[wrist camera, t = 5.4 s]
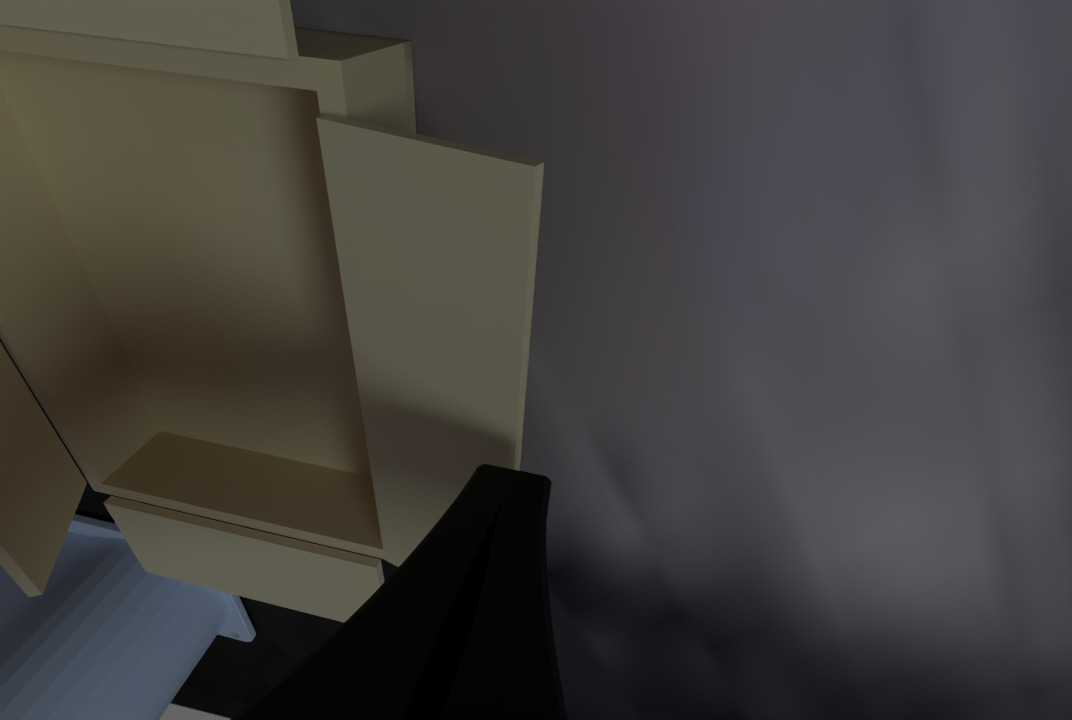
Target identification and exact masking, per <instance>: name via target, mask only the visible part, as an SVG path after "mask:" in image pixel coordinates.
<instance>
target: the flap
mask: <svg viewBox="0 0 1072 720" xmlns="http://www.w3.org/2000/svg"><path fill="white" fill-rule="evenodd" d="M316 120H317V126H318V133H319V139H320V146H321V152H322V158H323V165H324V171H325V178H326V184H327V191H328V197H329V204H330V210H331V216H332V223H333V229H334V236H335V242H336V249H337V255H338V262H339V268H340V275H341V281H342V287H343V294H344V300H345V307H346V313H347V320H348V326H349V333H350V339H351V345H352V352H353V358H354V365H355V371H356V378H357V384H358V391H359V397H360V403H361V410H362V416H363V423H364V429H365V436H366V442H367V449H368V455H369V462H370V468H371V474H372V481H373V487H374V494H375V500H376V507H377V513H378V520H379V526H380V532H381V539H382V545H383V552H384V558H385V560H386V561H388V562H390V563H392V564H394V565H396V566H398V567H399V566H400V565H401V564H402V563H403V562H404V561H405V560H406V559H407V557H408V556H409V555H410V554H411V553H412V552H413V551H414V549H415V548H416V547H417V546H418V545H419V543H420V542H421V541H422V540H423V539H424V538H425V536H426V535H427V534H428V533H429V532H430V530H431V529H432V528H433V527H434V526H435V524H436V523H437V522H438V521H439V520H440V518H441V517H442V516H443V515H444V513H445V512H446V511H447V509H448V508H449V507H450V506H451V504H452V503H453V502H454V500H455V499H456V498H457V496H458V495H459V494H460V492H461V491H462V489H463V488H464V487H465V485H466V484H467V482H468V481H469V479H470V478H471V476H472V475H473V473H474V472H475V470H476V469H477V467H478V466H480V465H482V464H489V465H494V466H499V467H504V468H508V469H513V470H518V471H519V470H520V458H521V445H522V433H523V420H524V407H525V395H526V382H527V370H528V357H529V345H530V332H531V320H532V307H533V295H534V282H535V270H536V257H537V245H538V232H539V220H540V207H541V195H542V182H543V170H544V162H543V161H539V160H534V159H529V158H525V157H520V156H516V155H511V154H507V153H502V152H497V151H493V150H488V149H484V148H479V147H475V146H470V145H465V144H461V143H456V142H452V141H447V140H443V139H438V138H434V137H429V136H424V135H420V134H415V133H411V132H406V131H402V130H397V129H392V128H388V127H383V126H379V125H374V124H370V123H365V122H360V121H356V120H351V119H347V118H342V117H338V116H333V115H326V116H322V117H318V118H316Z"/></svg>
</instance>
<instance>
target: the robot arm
mask: <svg viewBox="0 0 1072 720" xmlns="http://www.w3.org/2000/svg"><path fill="white" fill-rule="evenodd" d="M550 490H551V481H550V480H549V479H548V478H547V476H542V475H537V474H532V473H528V472H523V471H518V470H513V469H508V468H504V467H499V466H494V465H489V464H482V465H480V466H478V467H477V469H476V470H475V472H474V473H473V475H472V476H471V478H470V479H469V481H468V482H467V484H466V485H465V487H464V488H463V489H462V491H461V492H460V494H459V495H458V496H457V498H456V499H455V500H454V502H453V503H452V504H451V506H450V507H449V508H448V509H447V511H446V512H445V513H444V515H443V516H442V517H441V518H440V520H439V521H438V522H437V523H436V524H435V526H434V527H433V528H432V529H431V530H430V532H429V533H428V534H427V535H426V536H425V538H424V539H423V540H422V541H421V542H420V543H419V545H418V546H417V547H416V548H415V549H414V551H413V552H412V553H411V554H410V555H409V556H408V557H407V559H406V560H405V561H404V562H403V563H402V564H401V565H400V566H399V567H398V568H397V569H396V570H395V571H394V572H393V574H392V575H391V576H390V577H389V578H388V579H387V580H386V581H385V582H384V583H383V584H382V585H381V586H380V587H379V588H378V590H377V591H376V592H375V593H374V594H373V595H372V596H371V597H370V598H369V599H368V600H367V601H366V602H365V603H364V604H363V605H362V606H361V607H360V608H359V609H358V610H357V611H356V612H355V613H354V614H353V615H352V616H351V617H350V618H349V619H348V620H347V621H346V622H344V623H343V624H342V625H341V626H340V627H339V628H338V629H337V630H336V631H335V632H334V633H333V634H332V635H331V636H329V637H328V638H327V639H326V640H325V641H324V642H323V643H322V644H321V645H320V646H319V647H317V648H316V649H315V650H314V651H313V652H312V653H311V654H309V655H308V656H307V657H306V658H305V659H304V660H302V661H301V662H300V663H299V664H298V665H297V666H296V667H294V668H293V669H292V670H291V671H290V672H289V673H288V674H286V675H285V676H284V677H283V678H282V679H281V680H279V681H278V682H277V683H276V684H275V685H273V686H272V687H271V688H270V689H269V690H267V691H266V692H265V693H264V694H262V695H261V696H260V697H259V698H258V699H256V700H255V701H254V702H252V703H251V704H250V705H249V706H247V707H246V708H245V709H243V710H242V711H241V712H240V713H238V714H237V715H236V716H234V717H233V718H232V719H231V720H567V715H566V709H565V704H564V698H563V693H562V687H561V682H560V676H559V670H558V663H557V657H556V650H555V643H554V635H553V627H552V619H551V610H550V600H549V589H548V574H547V559H546V520H547V512H548V505H549V497H550ZM217 634H219V635H223V636H226V637H230V638H234V639H238V640H242V641H246V642H250V641H252V640H253V638H254V637H255V635H256V632H255V630H254V628H253V626H252V623H251V621H250V619H249V617H248V615H247V612H246V610H245V608H244V606H243V604H242V601H241V599H240V597H239V596H238V595H234V594H230V593H226V592H222V591H218V590H214V589H210V588H206V587H202V586H199V585H195V584H191V583H187V582H183V581H179V580H175V579H171V578H167V577H163V576H159V575H155V574H151V573H147V572H145V570H144V569H143V567H142V565H141V564H140V562H139V561H138V559H137V557H136V556H135V554H134V552H133V551H132V549H131V547H130V546H129V544H128V542H127V541H126V539H125V538H124V536H123V534H122V533H121V531H120V529H119V528H118V526H117V524H115V523H111V522H107V521H103V520H98V519H94V518H90V517H86V516H82V515H78V514H74V517H73V519H72V522H71V524H70V527H69V529H68V532H67V534H66V537H65V539H64V542H63V544H62V547H61V549H60V552H59V554H58V557H57V559H56V562H55V564H54V567H53V569H52V572H51V574H50V577H49V580H48V582H47V585H46V587H45V590H44V592H43V595H38V596H33V597H28V596H27V595H26V593H25V592H24V591H23V590H22V589H21V588H20V586H19V585H18V584H17V583H16V582H15V581H14V580H13V578H12V577H11V576H10V575H9V574H8V573H7V572H6V570H5V569H4V568H3V567H2V566H1V565H0V720H159V718H160V717H161V715H162V714H163V712H164V711H165V709H166V708H167V707H168V705H169V704H170V702H171V701H172V699H173V698H174V697H175V695H176V694H177V692H178V691H179V689H180V688H181V686H182V685H183V683H184V682H185V680H186V679H187V678H188V676H189V675H190V673H191V672H192V670H193V669H194V667H195V666H196V664H197V663H198V662H199V660H200V659H201V657H202V656H203V654H204V653H205V651H206V650H207V648H208V647H209V646H210V644H211V643H212V641H213V640H214V638H215V637H216V635H217Z"/></svg>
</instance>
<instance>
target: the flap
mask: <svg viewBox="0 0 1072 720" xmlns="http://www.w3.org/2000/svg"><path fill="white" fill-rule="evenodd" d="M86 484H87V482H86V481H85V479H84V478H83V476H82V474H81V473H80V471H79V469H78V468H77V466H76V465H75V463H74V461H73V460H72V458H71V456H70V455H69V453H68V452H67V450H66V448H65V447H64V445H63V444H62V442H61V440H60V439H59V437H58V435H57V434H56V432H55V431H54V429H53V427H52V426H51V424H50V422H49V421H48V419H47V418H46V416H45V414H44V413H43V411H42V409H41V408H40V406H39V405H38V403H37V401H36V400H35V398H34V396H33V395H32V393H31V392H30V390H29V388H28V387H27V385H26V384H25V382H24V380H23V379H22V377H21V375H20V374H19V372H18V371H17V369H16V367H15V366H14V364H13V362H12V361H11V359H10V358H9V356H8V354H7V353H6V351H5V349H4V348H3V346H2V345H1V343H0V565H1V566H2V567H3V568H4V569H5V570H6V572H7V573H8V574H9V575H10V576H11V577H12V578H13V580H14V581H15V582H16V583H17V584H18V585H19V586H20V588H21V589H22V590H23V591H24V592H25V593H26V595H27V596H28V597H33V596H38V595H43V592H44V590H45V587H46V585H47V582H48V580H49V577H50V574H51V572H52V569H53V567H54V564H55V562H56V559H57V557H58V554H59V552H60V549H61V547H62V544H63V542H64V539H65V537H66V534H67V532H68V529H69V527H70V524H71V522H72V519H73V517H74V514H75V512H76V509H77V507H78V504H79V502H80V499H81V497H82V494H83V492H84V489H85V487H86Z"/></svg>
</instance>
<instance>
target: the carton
mask: <svg viewBox="0 0 1072 720" xmlns="http://www.w3.org/2000/svg"><path fill="white" fill-rule="evenodd" d="M326 115H333V116H338V117H342V118H347V119H351V120H356V121H360V122H365V123H370V124H374V125H379V126H383V127H388V128H392V129H397V130H402V131H406V132H411V133H415V134H416V119H415V100H414V82H413V64H412V45H411V41H410V40H401V39H392V38H384V37H375V36H366V35H357V34H348V33H340V32H331V31H322V30H313V29H304V28H296V27H294V24H293V18H292V12H291V6H290V0H0V338H1V340H2V342H3V343H4V345H5V347H6V348H7V350H8V351H9V353H10V355H11V356H12V358H13V360H14V361H15V363H16V364H17V366H18V368H19V369H20V371H21V373H22V374H23V376H24V378H25V379H26V381H27V382H28V384H29V386H30V387H31V389H32V391H33V392H34V394H35V396H36V397H37V399H38V400H39V402H40V404H41V405H42V407H43V409H44V410H45V412H46V413H47V415H48V417H49V418H50V420H51V422H52V423H53V425H54V427H55V428H56V430H57V431H58V433H59V435H60V436H61V438H62V440H63V441H64V443H65V444H66V446H67V448H68V449H69V451H70V453H71V454H72V456H73V458H74V459H75V461H76V462H77V464H78V466H79V467H80V469H81V471H82V472H83V474H84V475H85V477H86V479H87V480H88V482H89V484H90V485H91V487H92V489H93V490H94V491H98V492H102V493H106V494H111V495H115V496H119V497H123V498H128V499H132V500H136V501H140V502H145V503H149V504H153V505H157V506H162V507H166V508H170V509H174V510H179V511H183V512H187V513H191V514H196V515H200V516H204V517H208V518H213V519H217V520H221V521H225V522H229V523H234V524H238V525H242V526H246V527H251V528H255V529H259V530H263V531H268V532H272V533H276V534H280V535H285V536H289V537H293V538H297V539H302V540H306V541H310V542H314V543H319V544H323V545H327V546H331V547H336V548H340V549H344V550H348V551H353V552H357V553H361V554H365V555H370V556H374V557H378V558H382V559H385V558H384V552H383V545H382V539H381V532H380V526H379V520H378V513H377V507H376V500H375V494H374V487H373V481H372V474H371V468H370V462H369V455H368V449H367V442H366V436H365V429H364V423H363V416H362V410H361V403H360V397H359V391H358V384H357V378H356V371H355V365H354V358H353V352H352V345H351V339H350V333H349V326H348V320H347V313H346V307H345V300H344V294H343V287H342V281H341V275H340V268H339V262H338V255H337V249H336V242H335V236H334V229H333V223H332V216H331V210H330V204H329V197H328V191H327V184H326V178H325V171H324V165H323V158H322V152H321V146H320V139H319V133H318V126H317V120H316V118H318V117H322V116H326ZM104 505H105V506H106V508H107V510H108V511H109V513H110V515H111V516H112V518H113V519H114V521H115V523H116V524H117V526H118V528H119V529H120V531H121V533H122V534H123V536H124V538H125V539H126V541H127V542H128V544H129V546H130V547H131V549H132V551H133V552H134V554H135V556H136V557H137V559H138V561H139V562H140V564H141V565H142V567H143V569H144V570H145V572H147V573H151V574H155V575H159V576H163V577H167V578H171V579H175V580H179V581H183V582H187V583H191V584H195V585H199V586H202V587H206V588H210V589H214V590H218V591H222V592H226V593H230V594H234V595H238V596H242V597H246V598H250V599H254V600H258V601H262V602H266V603H270V604H274V605H278V606H282V607H286V608H289V609H293V610H297V611H301V612H305V613H309V614H313V615H317V616H321V617H325V618H329V619H333V620H337V621H341V622H346V621H347V620H348V619H349V618H350V617H351V616H352V615H353V614H354V613H355V612H356V611H357V610H358V609H359V608H360V607H361V606H362V605H363V604H364V603H365V602H366V601H367V600H368V599H369V598H370V597H371V596H372V595H373V594H374V593H375V592H376V591H377V590H378V588H379V587H380V586H381V585H382V584H383V583H384V577H383V571H382V565H381V560H380V559H376V558H372V557H367V556H363V555H359V554H355V553H350V552H346V551H342V550H338V549H333V548H329V547H325V546H321V545H316V544H312V543H308V542H304V541H300V540H295V539H291V538H287V537H283V536H278V535H274V534H270V533H266V532H261V531H257V530H253V529H249V528H244V527H240V526H236V525H232V524H227V523H223V522H219V521H215V520H211V519H206V518H202V517H198V516H194V515H189V514H185V513H181V512H177V511H172V510H168V509H164V508H160V507H155V506H151V505H147V504H143V503H139V502H134V501H130V500H126V499H122V498H117V497H113V496H110V497H109V498H108V499H107V500H106V501H105V502H104Z"/></svg>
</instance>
